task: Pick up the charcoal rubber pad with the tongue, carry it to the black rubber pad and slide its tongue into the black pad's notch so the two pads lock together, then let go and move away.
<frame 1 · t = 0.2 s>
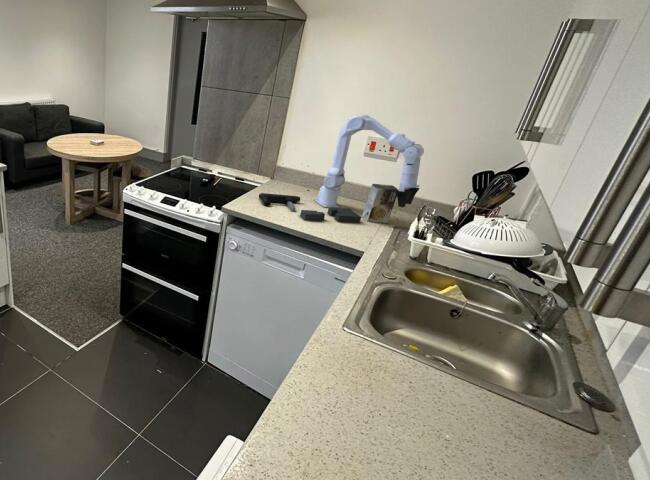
hand: (404, 205, 168), 10 cm above the worktop, tool pointing down, fingers open, 7 cm apart
door handle: (281, 205, 188), on the worktop
coffee box: (374, 220, 179), on the worktop
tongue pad: (309, 218, 174), on the worktop
notch pad: (342, 218, 178), on the worktop
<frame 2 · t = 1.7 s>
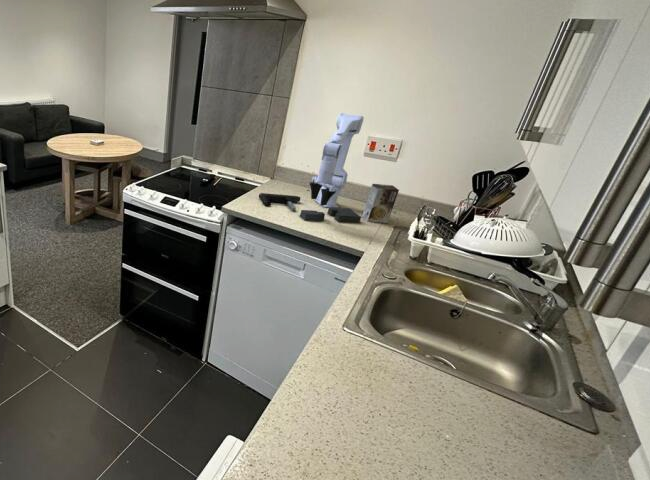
hand: (318, 201, 169), 8 cm above the worktop, tool pointing down, fingers open, 7 cm apart
nothing on the worktop moved.
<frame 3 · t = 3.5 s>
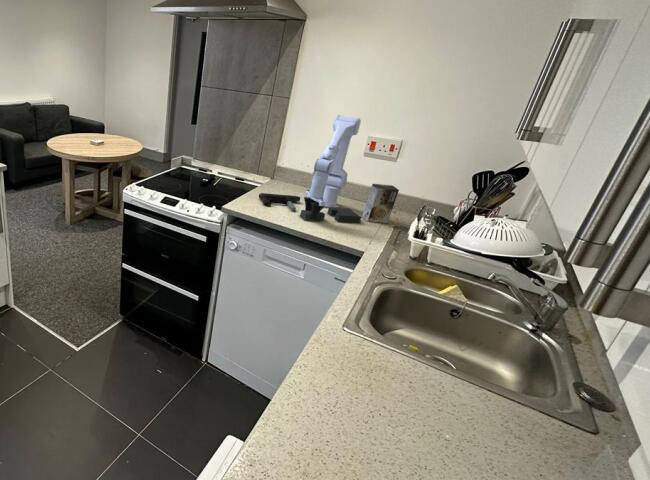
hand: (310, 215, 173), 1 cm above the worktop, tool pointing down, fingers closed on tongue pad, 5 cm apart
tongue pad: (309, 218, 174), on the worktop, touching gripper
everything else where it was.
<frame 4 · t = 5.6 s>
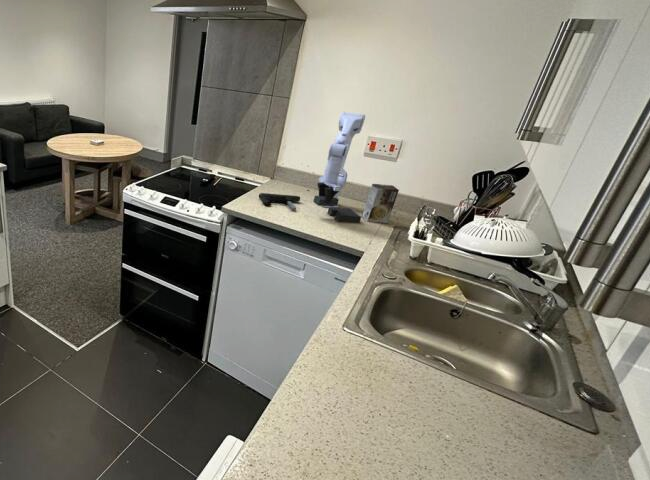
hand: (323, 201, 174), 8 cm above the worktop, tool pointing down, fingers closed on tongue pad, 5 cm apart
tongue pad: (323, 204, 174), point 6 cm above the worktop, touching gripper
everything else where it was.
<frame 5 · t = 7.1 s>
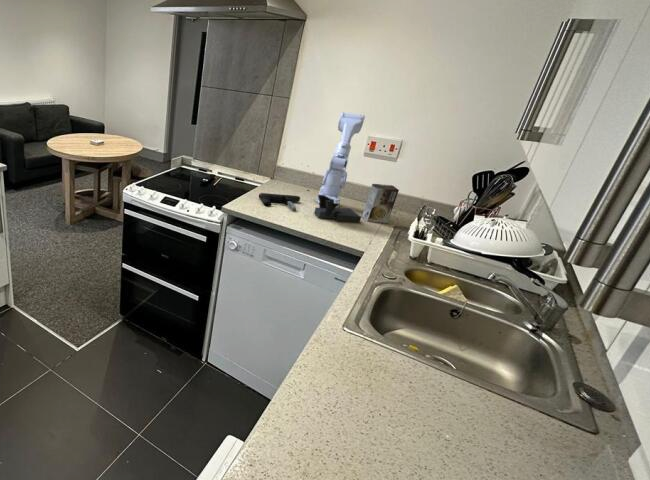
hand: (324, 213, 176), 2 cm above the worktop, tool pointing down, fingers closed on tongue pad, 5 cm apart
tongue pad: (323, 215, 177), on the worktop, touching gripper
everything else where it was.
when the fingers open (1 cm above the worktop, at t = 8.1 s): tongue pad stays where it is, on the worktop.
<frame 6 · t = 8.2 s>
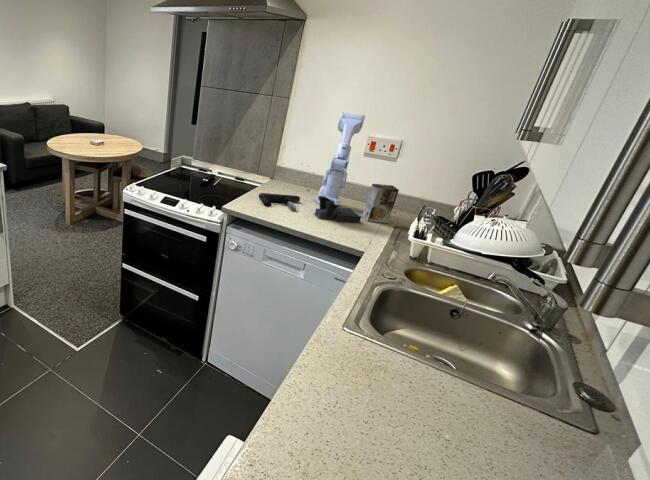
hand: (325, 214, 177), 1 cm above the worktop, tool pointing down, fingers open, 5 cm apart
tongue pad: (324, 217, 177), on the worktop
everything else where it was.
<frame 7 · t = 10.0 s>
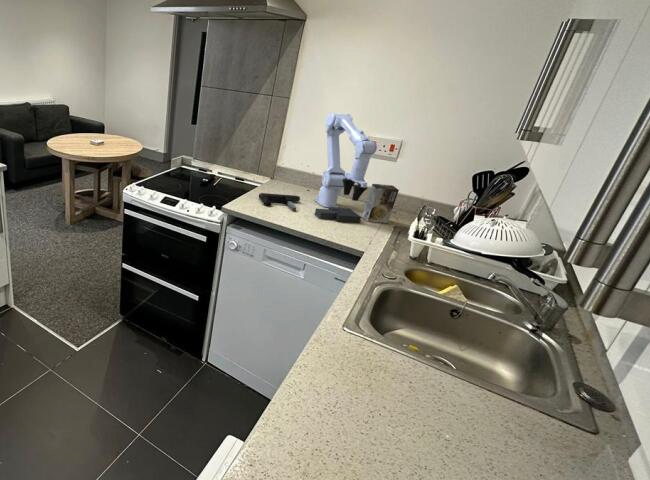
hand: (350, 197, 176), 9 cm above the worktop, tool pointing down, fingers open, 7 cm apart
nothing on the worktop moved.
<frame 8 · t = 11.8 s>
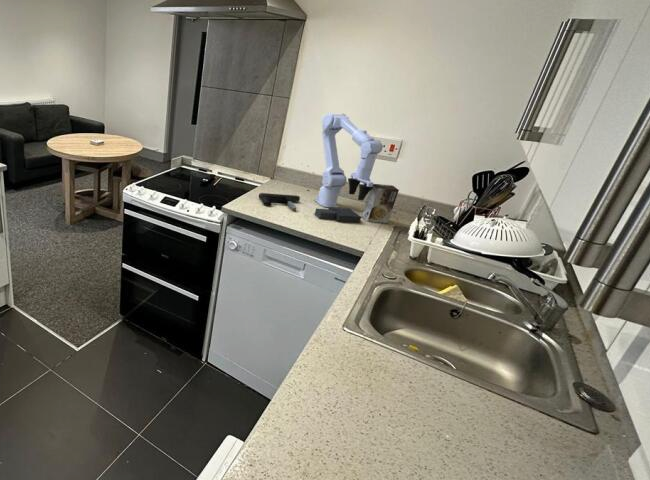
hand: (355, 197, 177), 9 cm above the worktop, tool pointing down, fingers open, 7 cm apart
nothing on the worktop moved.
at the end: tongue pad 0.1 cm from the target spot on the worktop beside the notch pad, on the worktop; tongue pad tilted 0°; the gripper is holding nothing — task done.
